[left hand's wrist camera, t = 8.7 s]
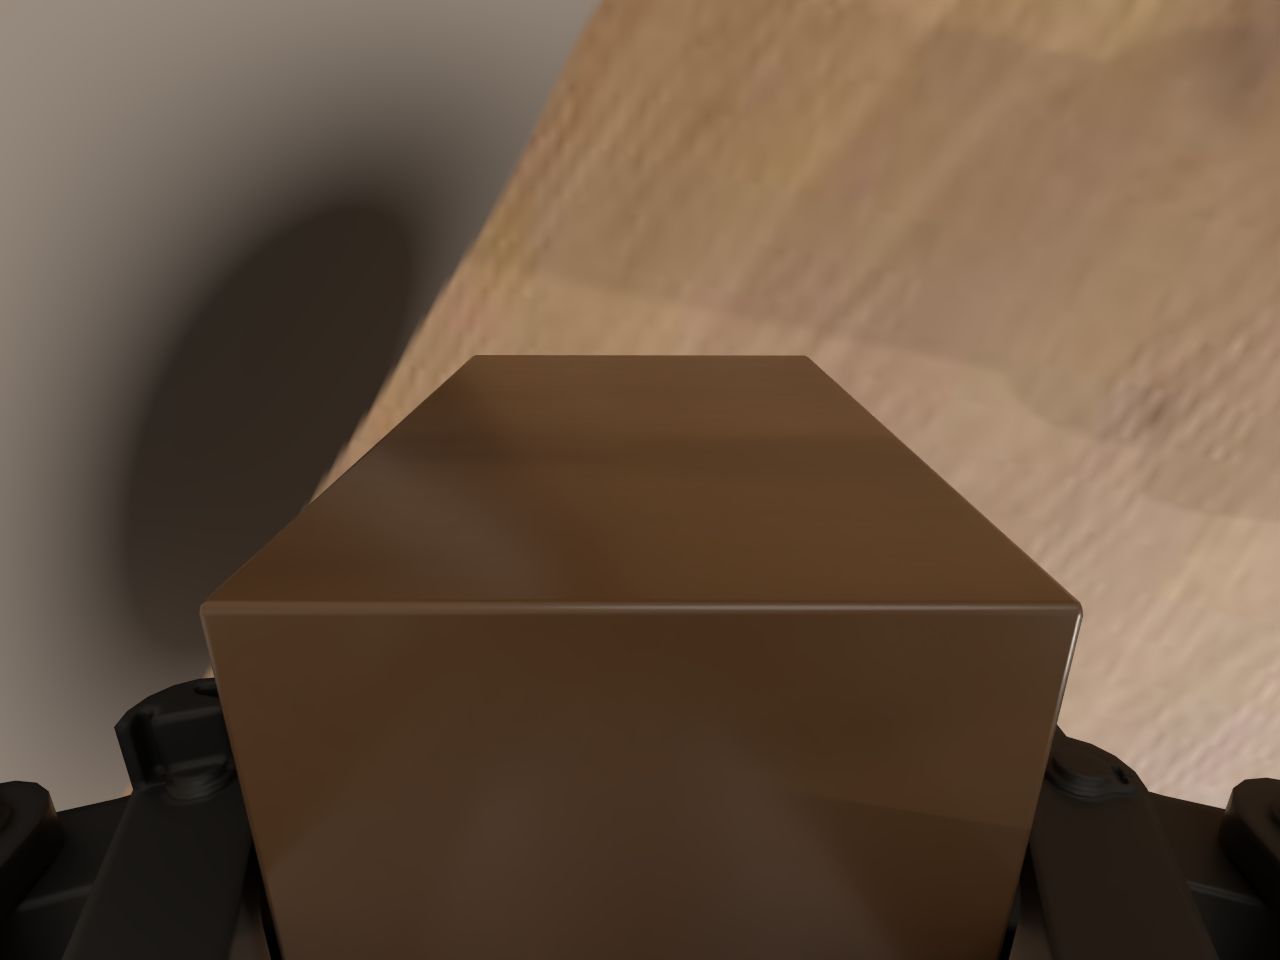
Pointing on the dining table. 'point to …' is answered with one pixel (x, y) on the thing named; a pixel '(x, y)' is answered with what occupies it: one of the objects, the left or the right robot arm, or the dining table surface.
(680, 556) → the box
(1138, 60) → the dining table surface
